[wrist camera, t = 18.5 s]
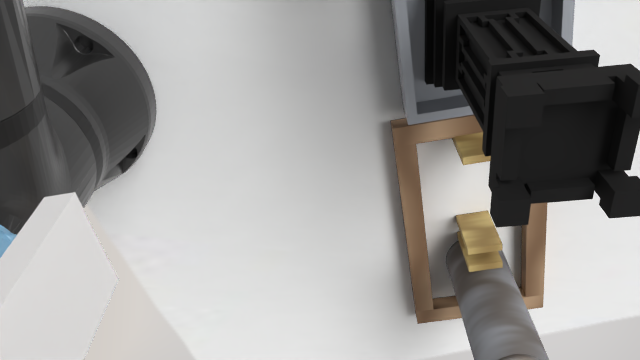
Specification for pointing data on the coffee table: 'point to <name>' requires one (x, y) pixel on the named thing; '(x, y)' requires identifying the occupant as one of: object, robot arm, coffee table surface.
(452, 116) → the tray
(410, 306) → the coffee table surface
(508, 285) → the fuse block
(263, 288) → the coffee table surface
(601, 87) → the chess piece
